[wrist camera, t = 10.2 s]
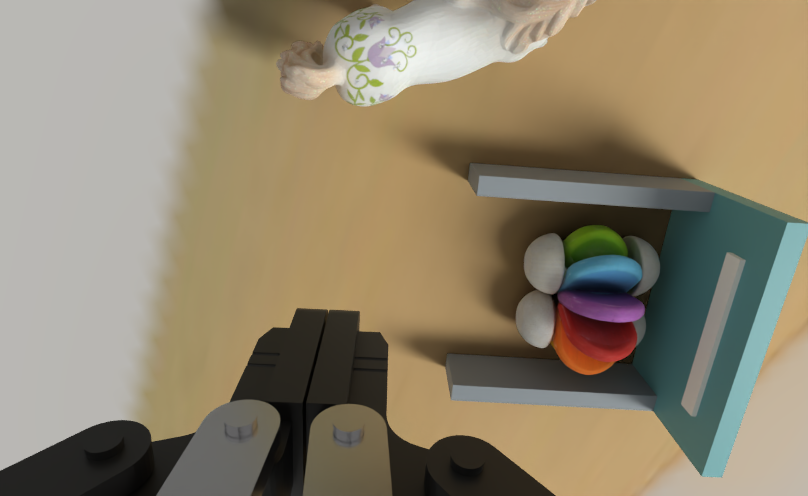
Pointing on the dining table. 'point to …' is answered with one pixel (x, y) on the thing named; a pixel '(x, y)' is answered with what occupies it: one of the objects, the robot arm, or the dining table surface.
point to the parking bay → (662, 309)
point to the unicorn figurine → (419, 45)
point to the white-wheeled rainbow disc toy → (587, 296)
